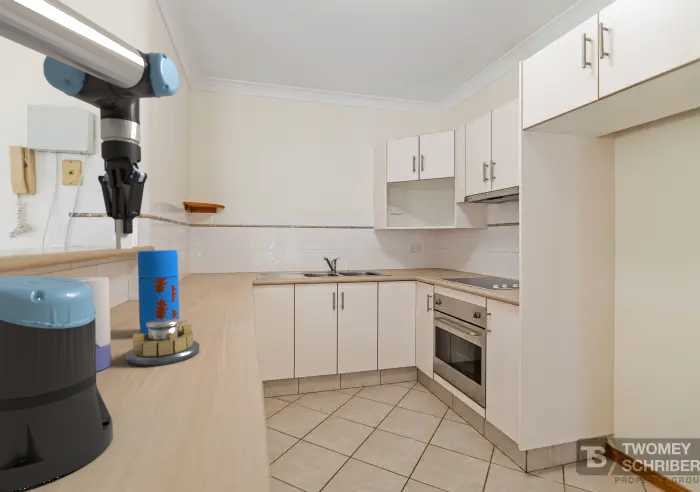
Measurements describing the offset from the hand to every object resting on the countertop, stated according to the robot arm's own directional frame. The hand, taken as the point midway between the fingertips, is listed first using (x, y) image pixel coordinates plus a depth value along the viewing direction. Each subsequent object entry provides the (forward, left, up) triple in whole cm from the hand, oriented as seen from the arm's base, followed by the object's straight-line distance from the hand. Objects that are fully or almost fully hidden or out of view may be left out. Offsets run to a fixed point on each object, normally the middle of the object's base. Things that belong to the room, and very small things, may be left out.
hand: (124, 248), depth 81 cm
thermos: (+24, +18, -27) cm, 40 cm away
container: (-5, +7, -27) cm, 28 cm away
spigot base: (+8, -2, -26) cm, 28 cm away
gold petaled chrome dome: (+11, -1, -25) cm, 27 cm away
